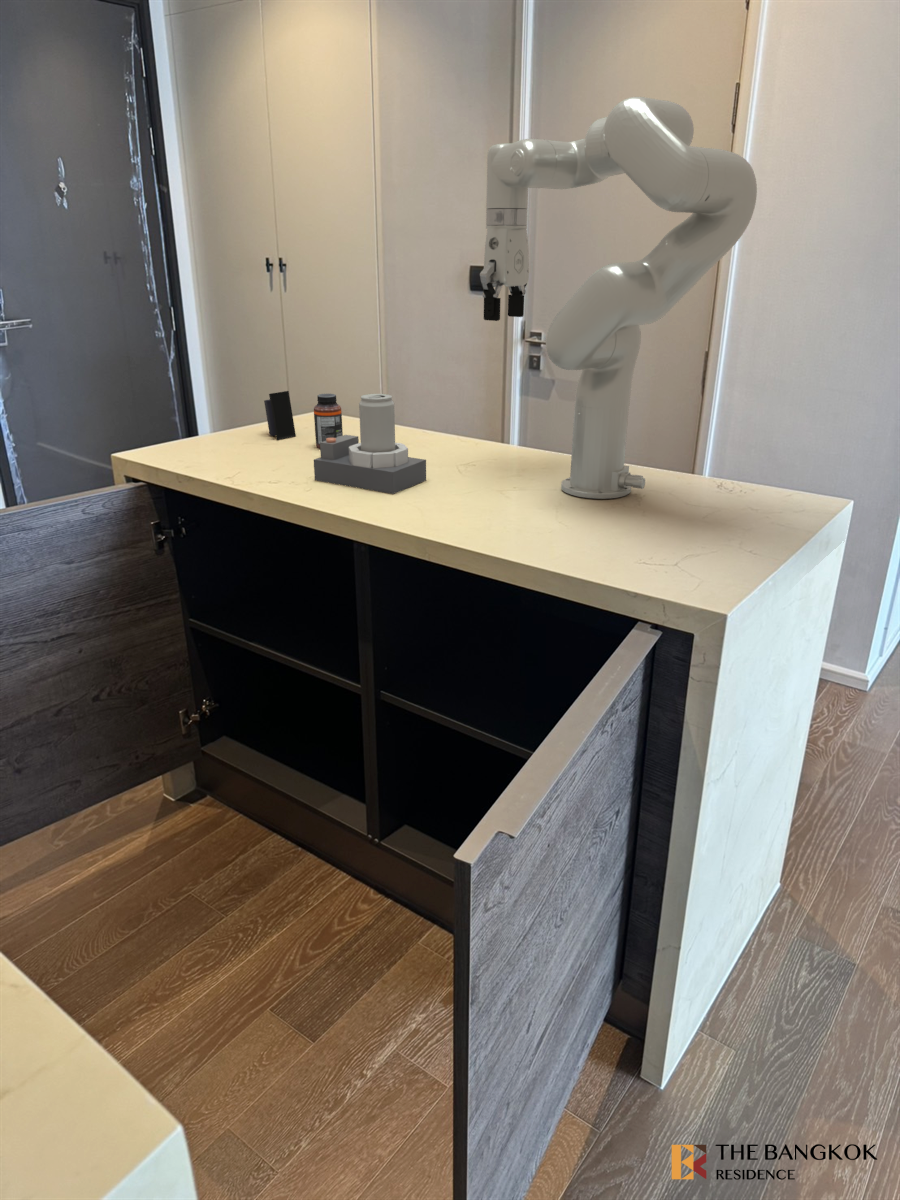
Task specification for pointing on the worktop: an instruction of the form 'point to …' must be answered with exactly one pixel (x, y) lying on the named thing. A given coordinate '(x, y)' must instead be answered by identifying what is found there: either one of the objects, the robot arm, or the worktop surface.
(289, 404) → the speaker
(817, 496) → the worktop surface
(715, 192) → the robot arm
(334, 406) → the supplement bottle
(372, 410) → the beverage can
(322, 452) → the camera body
